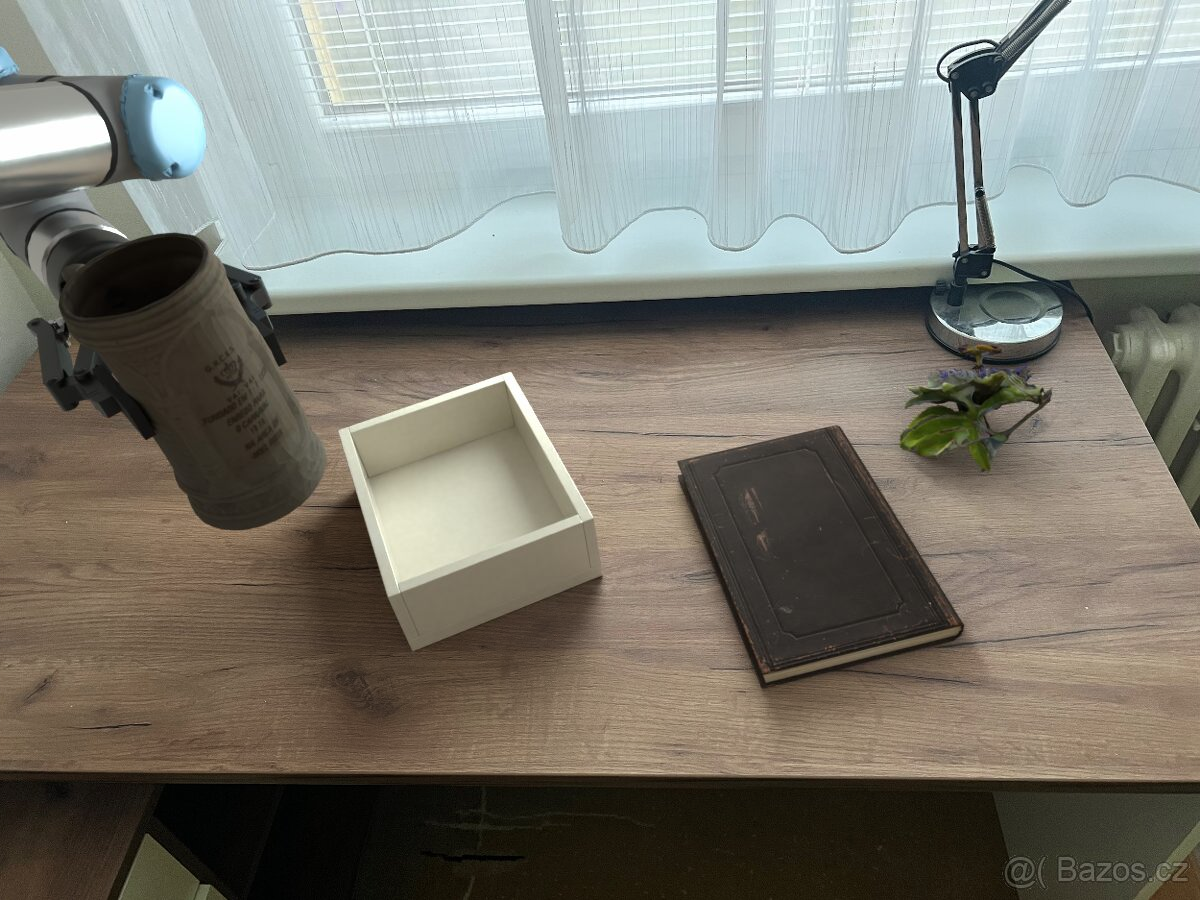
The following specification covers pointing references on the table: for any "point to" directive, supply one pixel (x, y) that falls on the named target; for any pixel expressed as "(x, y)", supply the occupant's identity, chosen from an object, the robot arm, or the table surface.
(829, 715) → the table surface
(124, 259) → the beer stein
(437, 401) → the open storage bin
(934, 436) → the passion flower
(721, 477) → the hardcover book
